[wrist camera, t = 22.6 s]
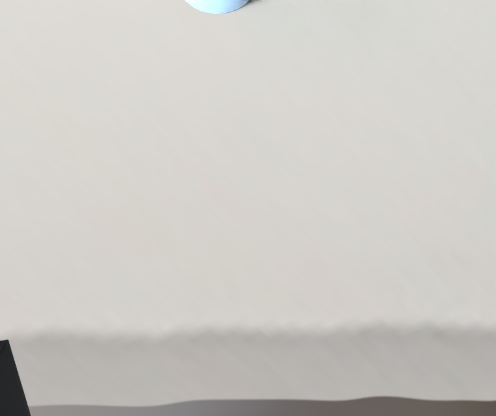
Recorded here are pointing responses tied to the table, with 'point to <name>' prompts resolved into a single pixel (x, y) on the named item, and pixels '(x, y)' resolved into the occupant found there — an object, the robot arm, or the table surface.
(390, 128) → the table surface
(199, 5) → the canister
